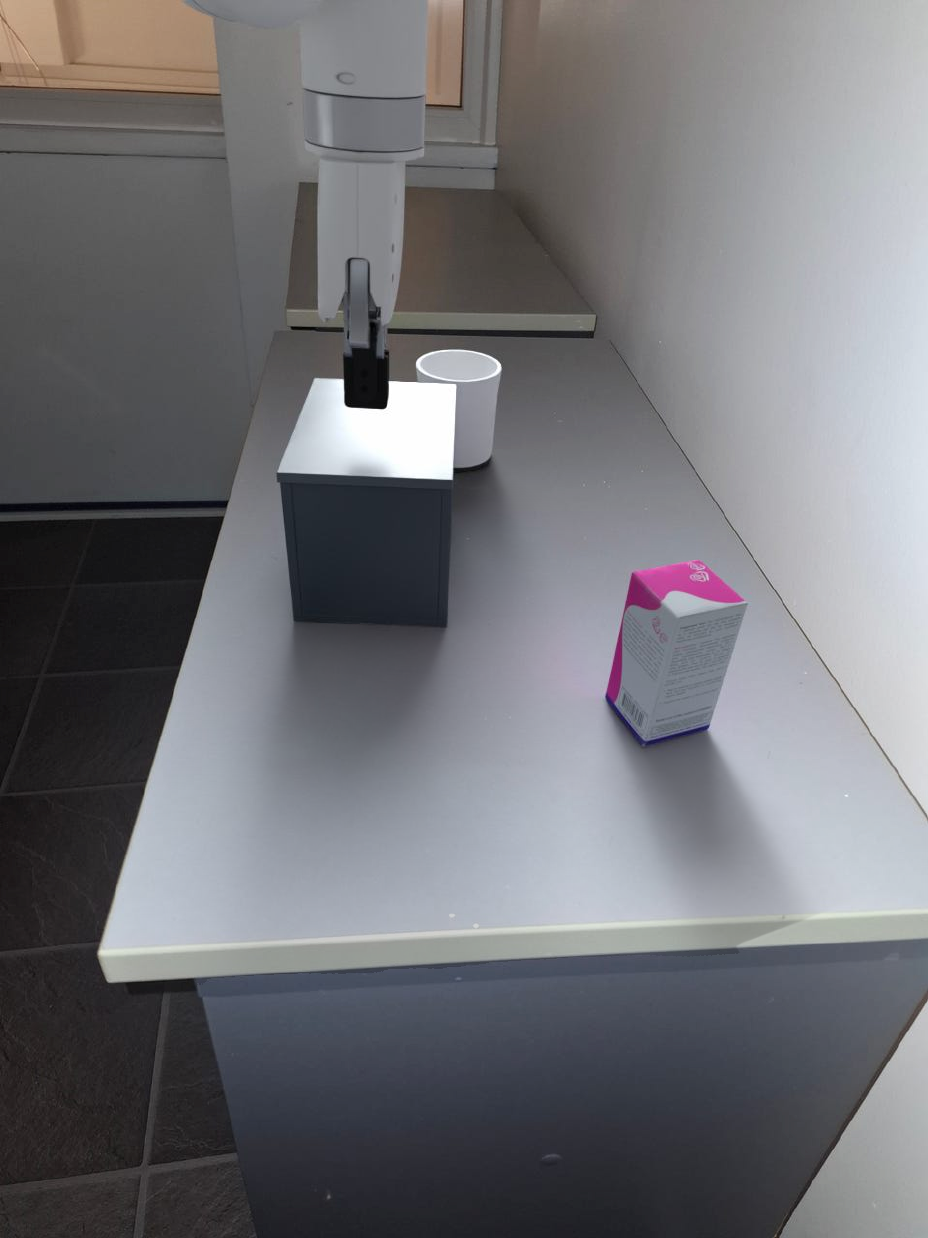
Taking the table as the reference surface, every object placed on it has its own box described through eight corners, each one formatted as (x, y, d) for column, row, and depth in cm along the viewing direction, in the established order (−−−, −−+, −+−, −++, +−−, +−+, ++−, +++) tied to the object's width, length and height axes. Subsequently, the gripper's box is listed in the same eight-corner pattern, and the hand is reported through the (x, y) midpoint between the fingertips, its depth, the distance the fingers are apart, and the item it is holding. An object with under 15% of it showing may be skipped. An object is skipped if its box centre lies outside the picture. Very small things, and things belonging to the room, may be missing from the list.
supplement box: (712, 729, 62) (751, 602, 55) (642, 749, 60) (673, 620, 53) (668, 679, 66) (700, 555, 59) (602, 696, 64) (626, 570, 57)
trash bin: (447, 627, 70) (452, 489, 62) (293, 621, 70) (279, 482, 62) (451, 517, 84) (456, 393, 76) (323, 511, 84) (315, 386, 76)
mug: (509, 466, 93) (516, 375, 87) (434, 480, 90) (437, 386, 84) (465, 425, 101) (470, 339, 95) (395, 437, 98) (395, 348, 91)
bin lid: (452, 490, 62) (453, 479, 61) (277, 482, 61) (276, 472, 61) (456, 392, 76) (456, 384, 76) (314, 386, 76) (314, 377, 76)
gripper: (321, 106, 59) (330, 365, 70) (283, 139, 47) (301, 445, 58) (429, 114, 59) (421, 370, 70) (418, 149, 47) (411, 451, 58)
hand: (366, 403), depth 64 cm, fingers closed
